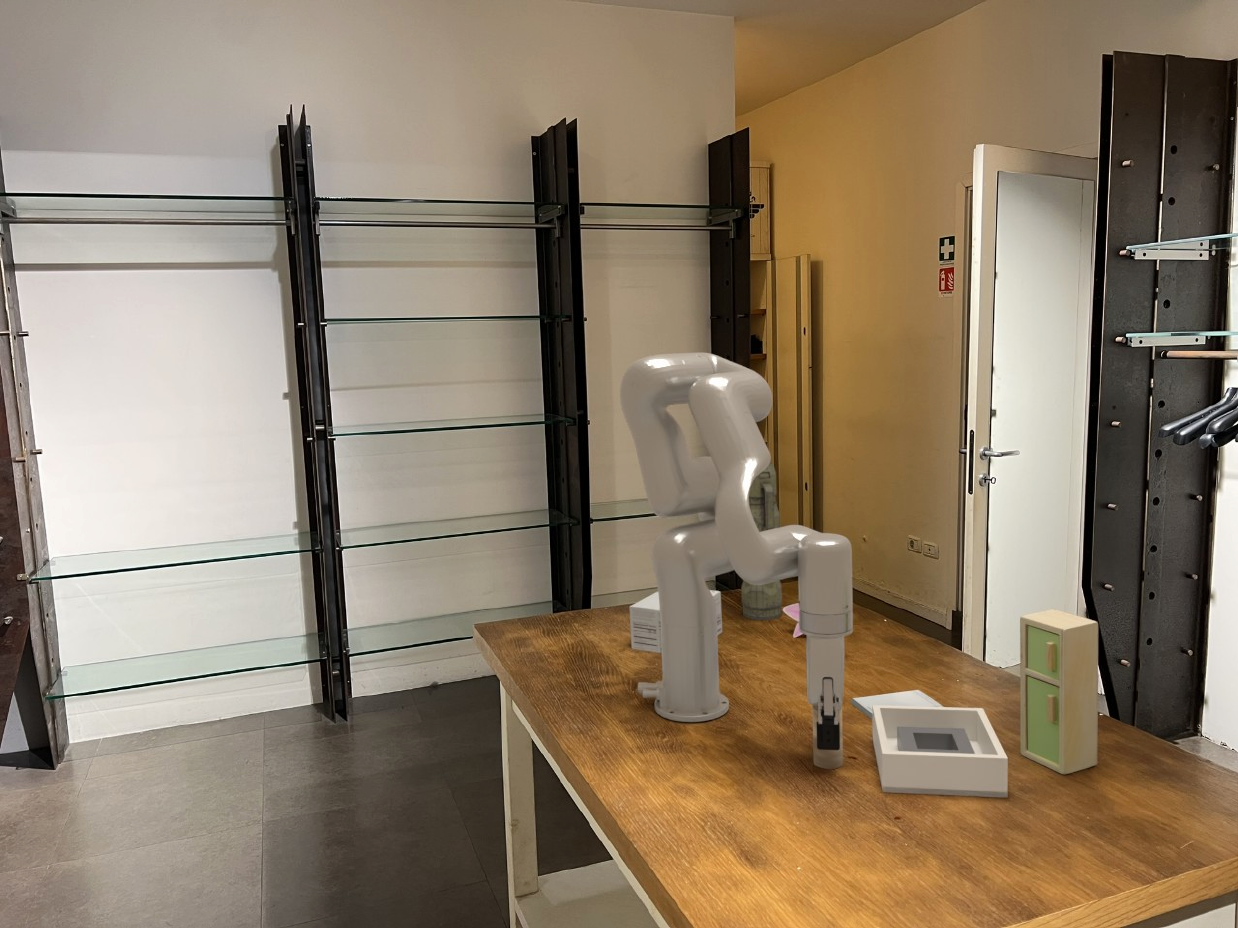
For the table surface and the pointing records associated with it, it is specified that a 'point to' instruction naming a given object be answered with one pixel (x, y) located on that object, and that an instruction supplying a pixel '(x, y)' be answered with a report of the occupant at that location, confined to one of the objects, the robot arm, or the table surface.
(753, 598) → the thermos
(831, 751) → the peg
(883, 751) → the walled box
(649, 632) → the supplement box
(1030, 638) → the toy refrigerator
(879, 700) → the hard drive
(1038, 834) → the table surface
